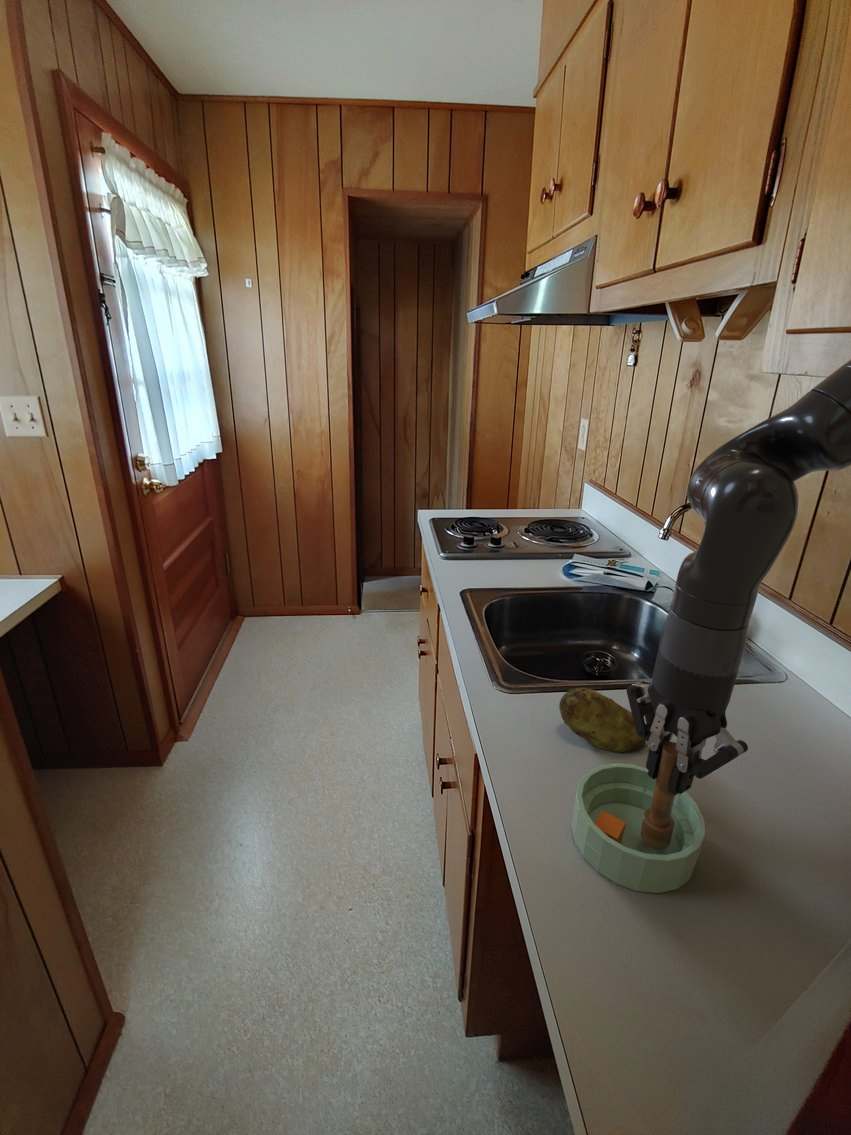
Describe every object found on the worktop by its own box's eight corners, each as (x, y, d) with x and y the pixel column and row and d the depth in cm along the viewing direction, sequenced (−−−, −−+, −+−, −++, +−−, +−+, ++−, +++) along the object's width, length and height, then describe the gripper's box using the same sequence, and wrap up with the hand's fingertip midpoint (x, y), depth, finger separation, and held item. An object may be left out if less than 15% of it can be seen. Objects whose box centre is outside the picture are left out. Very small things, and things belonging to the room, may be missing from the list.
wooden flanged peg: (653, 820, 69) (671, 733, 63) (676, 841, 66) (697, 752, 60) (634, 832, 67) (650, 744, 61) (657, 854, 64) (676, 764, 58)
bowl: (622, 782, 77) (629, 749, 75) (719, 860, 66) (731, 824, 64) (546, 826, 70) (552, 790, 68) (640, 921, 59) (650, 883, 57)
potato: (633, 774, 79) (643, 729, 76) (549, 738, 85) (555, 696, 82) (648, 742, 85) (658, 699, 82) (568, 711, 92) (574, 670, 88)
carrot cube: (598, 827, 69) (602, 810, 68) (622, 840, 67) (626, 822, 66) (589, 843, 67) (592, 825, 66) (613, 857, 65) (617, 839, 64)
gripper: (789, 676, 52) (743, 811, 59) (664, 615, 63) (637, 736, 70) (744, 700, 49) (701, 841, 55) (619, 631, 59) (596, 757, 66)
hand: (665, 782), depth 63 cm, fingers closed on wooden flanged peg, 2 cm apart
